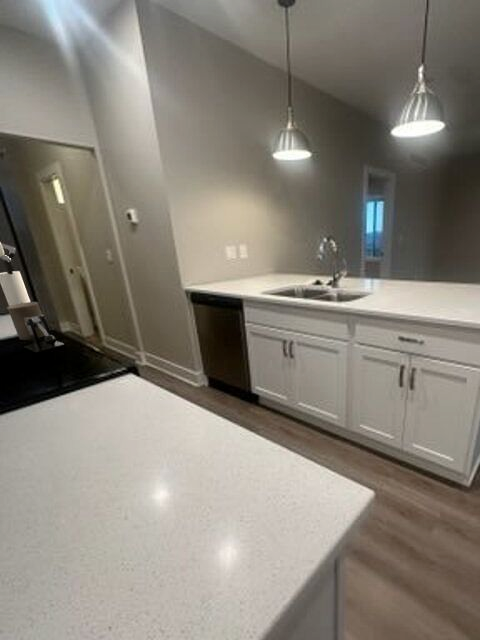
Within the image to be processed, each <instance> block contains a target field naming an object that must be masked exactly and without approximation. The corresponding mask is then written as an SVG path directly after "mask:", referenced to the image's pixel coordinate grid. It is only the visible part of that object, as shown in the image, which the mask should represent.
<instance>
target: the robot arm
mask: <svg viewBox="0 0 480 640" xmlns="http://www.w3.org/2000/svg"><path fill="white" fill-rule="evenodd" d="M4 249H5V250H8V251H9V252H8V254H7V255H6V254H5V250H4ZM16 250H17V249H16V247H15V246H11V245H10V244H9V245H8V244H5V243H2V242H0V259H1V260H3V265H4V269H5V270H6V271H5V272H7V273H8V274H13V272H12V271H14V267H13V265H12V260H13V259H14V257H15V254H16Z"/></svg>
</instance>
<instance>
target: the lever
mask: <svg viewBox="0 0 480 640" xmlns="http://www.w3.org/2000/svg"><path fill="white" fill-rule="evenodd" d="M30 318H31V319H32V322H33V324H34V327H38V328H39V330H40V331H41V332H42V333H43V335H44V336H43V337H44V341H45V342H46V343H47V344H50V345H51V344H54V343H55V342H56V341H57V338H56V337H55V336H54V335H52V334H51V335H49V334H48V333H47V332H46V330H45V329H44V328H43V327H42V324H41V320H40V319H39V318H38V316H35V317H30Z"/></svg>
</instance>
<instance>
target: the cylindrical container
mask: <svg viewBox="0 0 480 640" xmlns="http://www.w3.org/2000/svg"><path fill="white" fill-rule="evenodd" d="M12 272H13V274H8V273H7V271H4V272H0V286H1V288H2V289H1V290H2V291H3V294H4V296H5V299H6V301H7V305H8V307H9V306H12V305H16V304H21V303H28V302H31V299H30V297H29V294H28V291H27V288H26V286H25V282H24V280H23V277H22V274H21V271H20V270H15V271H12Z"/></svg>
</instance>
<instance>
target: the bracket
mask: <svg viewBox="0 0 480 640" xmlns="http://www.w3.org/2000/svg"><path fill="white" fill-rule="evenodd" d="M37 316H38V318H39V319H40V320H41V324H42V327H43V328H44V329H45V330H46V332H47V333H48V334H49V335H52V333H51V330H50V327H49V324H48V320H47V318H46V315H44V314H42V315H37ZM24 320H25V324H26V326H27V328H28V331H29V333H30V336H31V339H30V340H31V341H32V344H28V345H24V348H26V349H28V350H30V351H33V352H35V353H39V352H42V351H46V350H50V349H53V348H57V347H60V346H64V345H65V343H63V342H61V341H58V340H56V342H55V343H54V344H51V345H50V344H47V343H46V342H45V340H43V341H41V340H40V338H38V335H37V333H36V330H35V327H34V324H33V322H32V319H31V318H28V317H25V318H24Z"/></svg>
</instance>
